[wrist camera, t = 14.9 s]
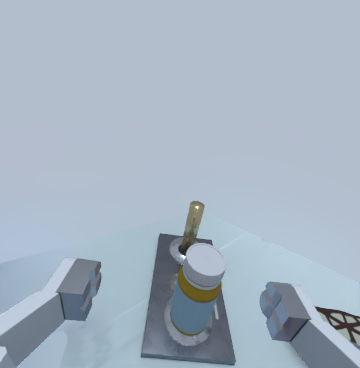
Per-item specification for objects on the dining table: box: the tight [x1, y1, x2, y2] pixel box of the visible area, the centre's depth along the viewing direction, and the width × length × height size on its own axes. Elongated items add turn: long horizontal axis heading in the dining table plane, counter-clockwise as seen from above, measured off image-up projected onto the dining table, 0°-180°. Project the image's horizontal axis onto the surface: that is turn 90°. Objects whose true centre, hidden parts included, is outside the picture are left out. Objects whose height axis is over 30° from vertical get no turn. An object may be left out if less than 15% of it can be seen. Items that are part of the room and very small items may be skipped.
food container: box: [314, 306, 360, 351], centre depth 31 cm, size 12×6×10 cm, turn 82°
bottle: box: [170, 243, 226, 336], centre depth 32 cm, size 7×7×15 cm
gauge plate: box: [141, 201, 236, 365], centre depth 39 cm, size 15×27×15 cm, turn 179°
